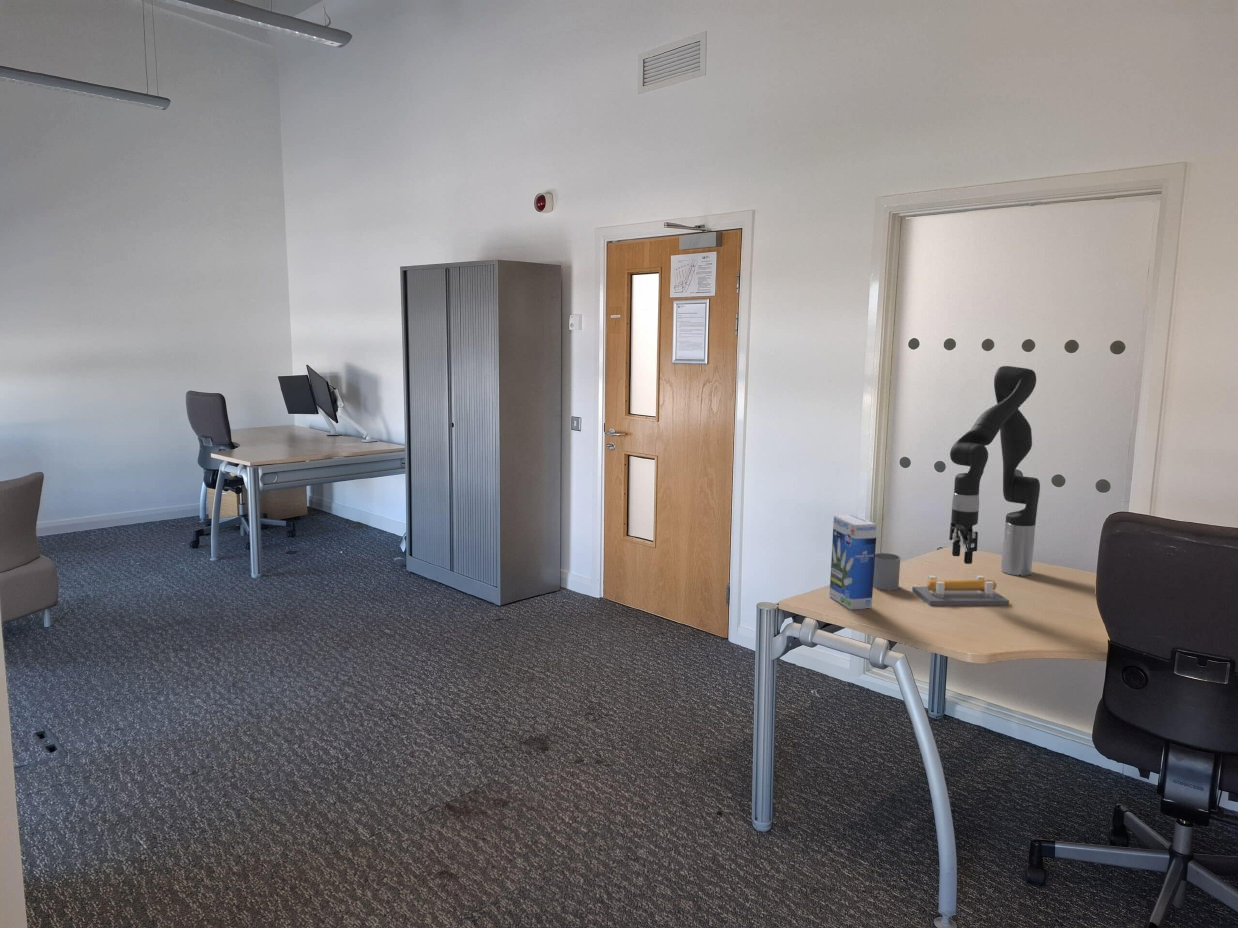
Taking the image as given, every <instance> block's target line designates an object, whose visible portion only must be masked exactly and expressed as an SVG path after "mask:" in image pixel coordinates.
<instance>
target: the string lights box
mask: <svg viewBox="0 0 1238 928" xmlns="http://www.w3.org/2000/svg"><path fill="white" fill-rule="evenodd" d="M832 522H833V523H832V524H833V526H832V527H833V528H832V540H831V541H832V543H831V544H832V545H831V558H830V559H831V562H830V577H829V579H830V581H829V583H830V584H829V598H831V599H832V600H835V602H837V603H839V604H841V605H842V606H843V607H845V608H846V609H848V610H851V611H853V610H865V609H866V608H869V609H872V607H873V606H872V605H873V591H874V590H873V589H874V588H873V579H874V565H875V554H876V548H877V534H878V533H877V532H878V523H875V522H871V521H870V520H868V519H866V518H863V517H861V516H857V515H856V514H838V515H837V514H836V515H833V521H832Z"/></svg>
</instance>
